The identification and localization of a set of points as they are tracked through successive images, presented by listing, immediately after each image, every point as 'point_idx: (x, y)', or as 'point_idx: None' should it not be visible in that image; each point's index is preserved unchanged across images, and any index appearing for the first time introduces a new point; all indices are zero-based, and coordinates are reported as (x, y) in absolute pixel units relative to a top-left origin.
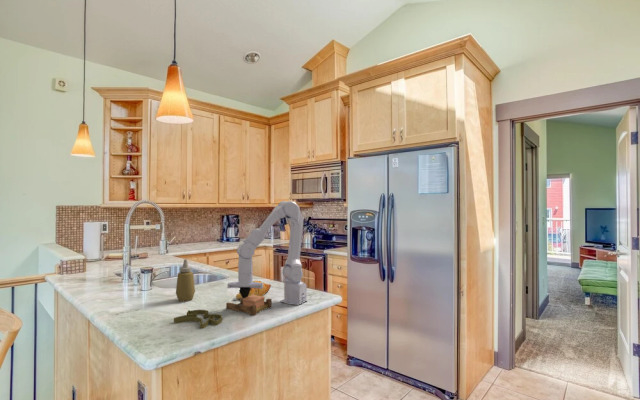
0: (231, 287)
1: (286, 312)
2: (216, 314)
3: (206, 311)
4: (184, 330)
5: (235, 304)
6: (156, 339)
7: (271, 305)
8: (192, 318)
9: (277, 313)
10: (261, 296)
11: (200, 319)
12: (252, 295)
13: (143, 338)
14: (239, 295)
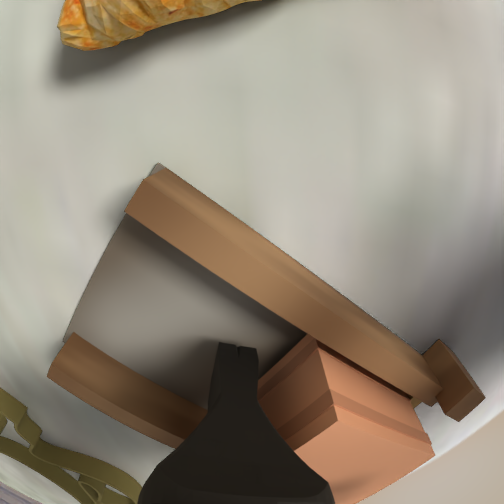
0: (5, 492)
1: (478, 415)
2: (92, 477)
3: (17, 431)
4: (57, 491)
5: (145, 430)
6: (35, 497)
7: (459, 362)
8: (17, 454)
9: (436, 433)
10: (416, 454)
11: (58, 482)
12: (328, 439)
13: (6, 481)
14: (100, 31)
